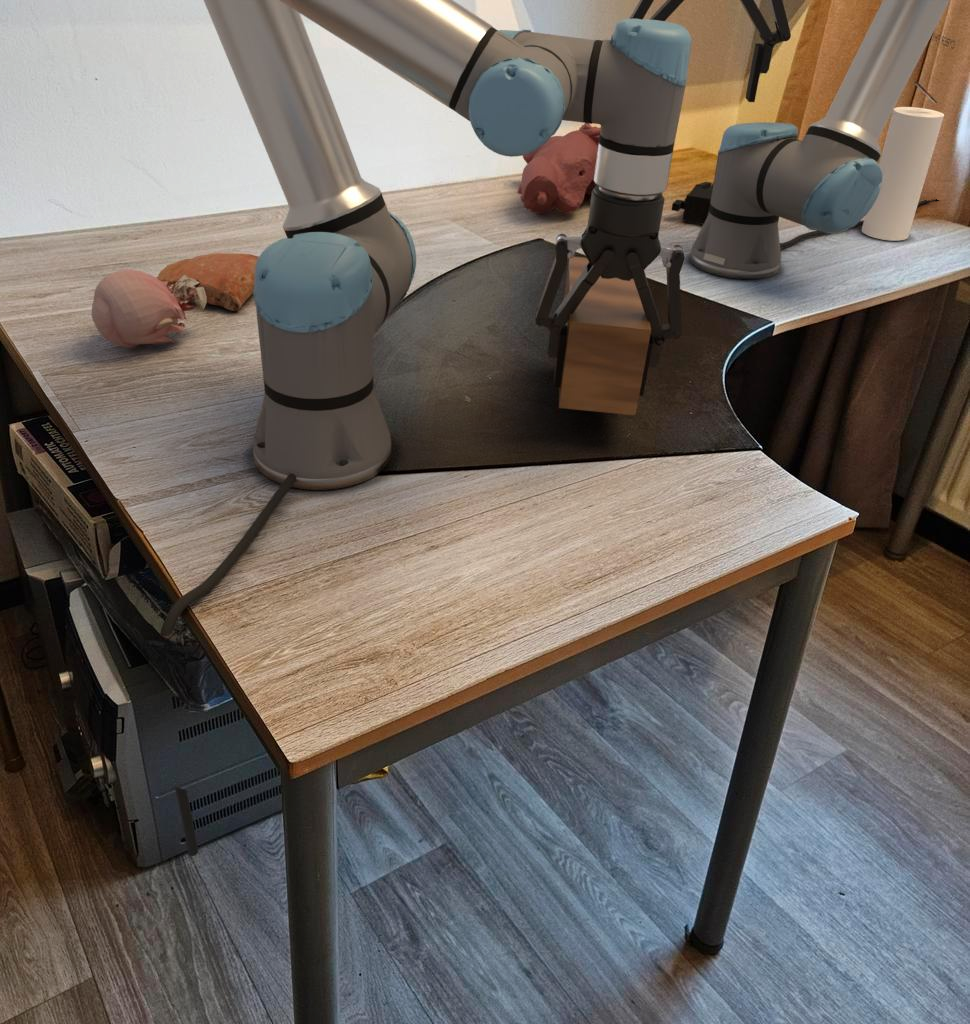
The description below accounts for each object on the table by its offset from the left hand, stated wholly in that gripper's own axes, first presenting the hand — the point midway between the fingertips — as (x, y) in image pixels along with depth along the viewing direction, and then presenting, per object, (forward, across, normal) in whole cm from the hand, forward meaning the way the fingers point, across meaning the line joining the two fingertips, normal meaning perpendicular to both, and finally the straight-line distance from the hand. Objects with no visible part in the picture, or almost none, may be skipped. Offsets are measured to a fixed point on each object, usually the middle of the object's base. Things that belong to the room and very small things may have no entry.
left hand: (598, 386), depth 111 cm
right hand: (-26, -10, -34) cm, 44 cm away
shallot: (+8, +59, -17) cm, 62 cm away
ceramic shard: (+8, +56, -36) cm, 67 cm away
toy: (+6, -27, -99) cm, 102 cm away
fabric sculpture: (+7, +1, -93) cm, 93 cm away
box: (+2, 0, -7) cm, 7 cm away
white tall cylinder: (+5, -58, -87) cm, 104 cm away
